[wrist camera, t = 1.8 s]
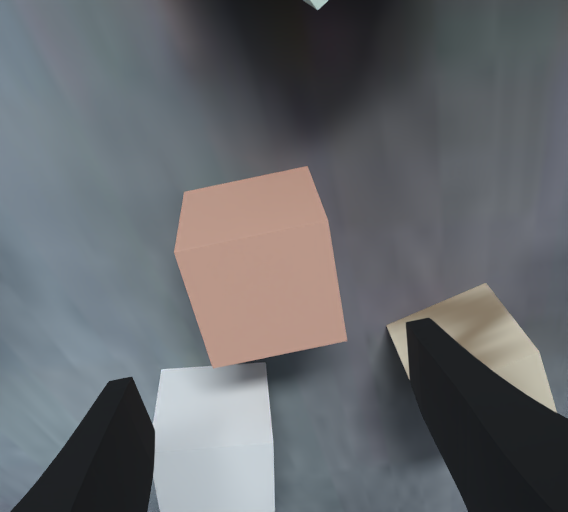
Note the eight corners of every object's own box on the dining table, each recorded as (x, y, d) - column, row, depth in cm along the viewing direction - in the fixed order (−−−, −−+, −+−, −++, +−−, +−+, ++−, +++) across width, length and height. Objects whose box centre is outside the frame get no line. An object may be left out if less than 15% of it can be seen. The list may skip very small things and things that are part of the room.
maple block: (485, 281, 25) (539, 351, 21) (508, 354, 27) (562, 430, 23) (386, 324, 26) (418, 400, 21) (417, 391, 28) (452, 471, 24)
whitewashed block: (265, 361, 26) (273, 443, 22) (267, 433, 29) (275, 519, 24) (161, 368, 26) (148, 453, 21) (173, 440, 28) (163, 529, 24)
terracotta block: (307, 165, 21) (328, 220, 17) (325, 269, 24) (347, 341, 20) (184, 191, 21) (173, 252, 17) (215, 292, 24) (213, 368, 20)
